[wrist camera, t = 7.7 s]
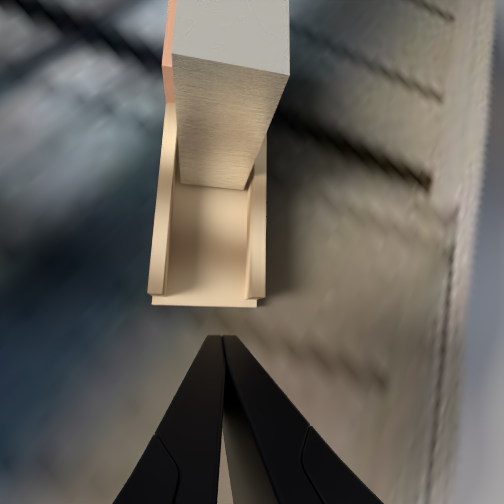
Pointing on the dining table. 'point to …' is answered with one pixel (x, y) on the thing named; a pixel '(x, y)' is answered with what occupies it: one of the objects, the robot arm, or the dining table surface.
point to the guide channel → (207, 235)
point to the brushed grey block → (226, 84)
